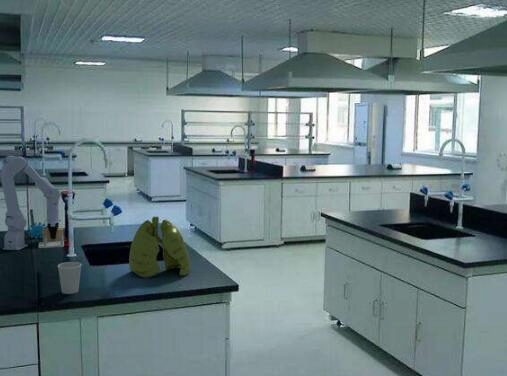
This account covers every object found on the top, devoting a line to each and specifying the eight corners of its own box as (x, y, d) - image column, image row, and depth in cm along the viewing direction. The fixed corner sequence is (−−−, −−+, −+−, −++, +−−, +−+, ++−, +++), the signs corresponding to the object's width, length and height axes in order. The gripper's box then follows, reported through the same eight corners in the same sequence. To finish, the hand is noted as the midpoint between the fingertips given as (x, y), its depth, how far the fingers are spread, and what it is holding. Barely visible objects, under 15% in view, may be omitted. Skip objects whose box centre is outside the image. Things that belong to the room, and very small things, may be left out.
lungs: (130, 280, 219) (129, 219, 216) (128, 269, 233) (128, 213, 231) (193, 276, 225) (193, 218, 222) (187, 266, 240) (188, 211, 237)
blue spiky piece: (25, 236, 285) (30, 220, 291) (26, 242, 289) (30, 226, 296) (48, 238, 287) (52, 223, 293) (48, 244, 292) (52, 229, 298)
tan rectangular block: (63, 239, 286) (63, 228, 285) (63, 241, 282) (63, 229, 281) (42, 240, 282) (42, 228, 281) (42, 242, 278) (42, 230, 278)
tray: (68, 242, 281) (68, 234, 280) (69, 246, 272) (69, 238, 271) (38, 243, 276) (38, 235, 276) (38, 248, 267) (38, 240, 266)
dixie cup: (67, 287, 207) (66, 260, 206) (86, 289, 205) (86, 263, 204) (53, 293, 200) (52, 266, 198) (73, 296, 197) (72, 268, 196)
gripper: (61, 213, 275) (61, 240, 276) (60, 209, 288) (61, 234, 290) (46, 214, 272) (46, 241, 274) (46, 209, 286) (46, 235, 288)
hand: (53, 238), depth 282 cm, fingers closed on tan rectangular block, 4 cm apart
